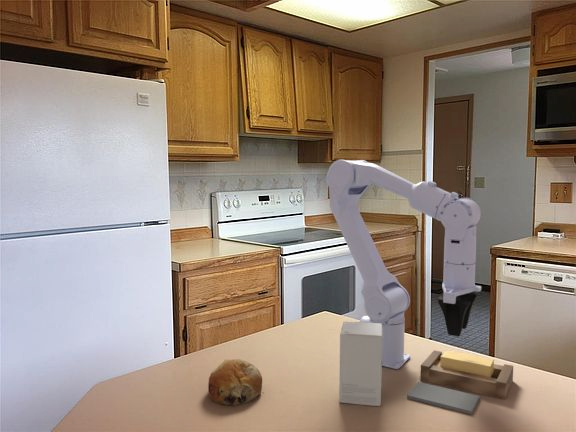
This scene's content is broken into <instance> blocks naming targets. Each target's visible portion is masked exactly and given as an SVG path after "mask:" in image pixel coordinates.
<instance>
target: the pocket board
mask: <svg viewBox="0 0 576 432" xmlns="http://www.w3.org/2000/svg"><path fill="white" fill-rule="evenodd" d="M442 354H443V352H442V351H440V350H432V352H431V353H430V354H428V356H427V358H426V359H425V360H424V361H423V362H422V363H421V364H420V376H419V378H420V381H423V382H428V383H432V384H435V385H441V386H445V387H449V388H453V389H459V390H462V391H466V392H471V393H475V394H478V395H484V396H488V397H493V398H497V399H500V400H501V399H502V400H506V399H507V396H508V393H509V391H510V389H511V386H512V385H513V384H512V383H513V380H514V379H513V378H514V365H511V364H506V363H504V364H503V365H500V364H495V363H494V372H493V374H492V376H491V377H486V376H481V375H477V374H472V373H467V372H462V371H458V370H453V369H448V368H443V367H440V364H441V356H442Z"/></svg>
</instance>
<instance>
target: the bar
mask: <svg viewBox="0 0 576 432" xmlns="http://www.w3.org/2000/svg"><path fill="white" fill-rule="evenodd" d="M494 364H495V359H494V358H490V357H484V356H478V355H474V354H469V353H463V352H458V351H455V350H454V351H453V350H448V349H446V350H445V351H444V352H442V356H441V364H440V367H443V368H448V369H453V370H458V371H462V372H467V373H472V374H477V375H481V376H486V377H491V376H492V374H493V372H494Z"/></svg>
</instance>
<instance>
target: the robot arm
mask: <svg viewBox="0 0 576 432" xmlns="http://www.w3.org/2000/svg"><path fill="white" fill-rule="evenodd" d="M324 180H325V182H326V184H327V186H328V192H329V206H330V210H331V213H332V214H333V217H334V218H335V221H336V223H337V225H338V228H339V229H340V230H339V231H340V232H341V234H342V237H343V238H344V241H345V243H346V245H347V247H348V249H349V251H350V252H349V253H350V254H351V255H352V258H353V261H354V262H355V265H356V267H357V269H358V272H359V273H360V276H361V278H362V280H363V284H362V288H361V291H360V293H361V295H362V297H363V302H364V303H363V305H364V306H363V307H364V312H365V314H366V315H363V316H361V318H360V320H359V322H367V323H382V367H385V368H389V369H394V370H399V369H400V368H401V367H402V366H403V365H404V364H405V363H406V362H407V361H408V360H409V359H410V358H411V355H410V354H409V353H405V324H406V323H405V322H406V321H405V320H406V319H405V311H407V310H408V308H409V306H410V305H411V304H410V303H411V297H410V294H409V292H408V291H407V289H406V288H405V287H404V286H402V285H401V283H400V282H399V280H398V278H397V276H396V275H394V274H392V273H391V272H389V270H388V269H387V267H386V266H385V262H384V261H383V258H382V257H381V255H380V253H379V250H378V248H377V245H375V242H374V240H373V238H372V236H371V233H370V232H369V229H368V227H367V225H366V223H365V220H364V218H363V217H362V215H361V213H360V211H359V210H360V209H358V203H359V201H360V199H361V196H362V195H363V194H364V193H365V192H366V190H367V189H368V187H369V186H371V185H372V186H373V185H374V186H377V187H378V188H382V189H384V190H386V191H389V192H391V193H393V194H395V195H398V196H400V197H403V198H405V199H407V200H408V204H409V206H410V207H411V208H412V209H413V210H416V211H418V212H420V213H422V214H424V215H427V216H429V217H431V218H433V219H435V220H437V221H438V222H441V224H442V226H443V227H444V240H443V241H444V244H443V245H444V247H443V279H442V285H441V287H442V291H443V293H442V294H443V295H441V296H439V297H437V298H438V299H437V303H438V305H439V307H440V309H441V311H442V313H443V317H444V322H445V326H446V331H447V335H449V336H454V337H460V336H461V334H462V330H463V329H464V330H466V328H467V327H468V324H469V320H470V315H471V311H472V308H473V305H474V303H475V301H476V299H477V297H478V296H479V292H481V291H482V286H481V285H476V262H477V261H476V260H477V224H478V223H479V222H480V219H481V217H482V211H481V207H480V206H479V204H478V203H477V202H475V201H474V200H473V199H472V198H471V197H461V198H459V193H457V192H456V191H452V192H449V191H446V190H444V189H442V188H440V187H438V186H437V183H436V182H435V181H432V180H431V181H420V182H419V183H416V184H415V183H414V182H412V181H410V180H408V179H406V178H404V177H401V176H399V175H398V174H397V173H393V172H392V171H389V170H388V169H386V168H384V167H382V166H381V165H380V166H379V165H378V164H376V163H372V162H368V161H366V160H365V159H364V160H363V159H359V160H345V159H337V160H335V161H334V162H333V163H331V165H330V166H329V168H328V171H327V174H326V177H325V178H324Z"/></svg>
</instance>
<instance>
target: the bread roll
mask: <svg viewBox="0 0 576 432" xmlns="http://www.w3.org/2000/svg"><path fill="white" fill-rule="evenodd" d="M207 387H208V396H209V397H210V399H211V400H212V402H214V403H217V404H219V405H220V404H221V405H226V406H238V405H244V404H246V403H249V402H251V401H252V400H255V399H256V398H258V397H259V396H260V394H262V390H263V376H262V374H261V372H260V370H259V369H258V367H256V366H255V365H254V364H253V363H251V362H249V361H247V360H246V359H240V358H232V359H231V358H228V359H225V360H224V361H223V362H221V363H220V364H219V365H218V366H217V367H216V368H215V369H214V370H212V371H211V373H210V375H209V377H208V385H207Z"/></svg>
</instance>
